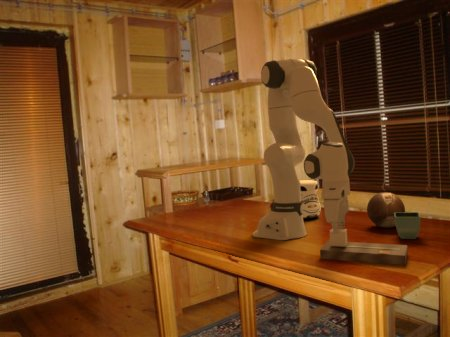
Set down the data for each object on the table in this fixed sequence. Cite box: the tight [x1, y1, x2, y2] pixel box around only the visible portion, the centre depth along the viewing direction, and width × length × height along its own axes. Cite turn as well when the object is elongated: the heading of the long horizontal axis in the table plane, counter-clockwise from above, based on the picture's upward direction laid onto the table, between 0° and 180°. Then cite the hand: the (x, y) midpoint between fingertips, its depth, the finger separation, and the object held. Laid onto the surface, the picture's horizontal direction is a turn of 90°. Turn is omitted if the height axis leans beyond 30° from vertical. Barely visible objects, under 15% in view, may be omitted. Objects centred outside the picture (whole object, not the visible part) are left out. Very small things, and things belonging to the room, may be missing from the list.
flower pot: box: [394, 211, 421, 240], centre depth 155 cm, size 9×9×9 cm
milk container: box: [298, 179, 322, 220], centre depth 203 cm, size 17×17×18 cm
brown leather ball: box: [366, 191, 406, 229], centre depth 173 cm, size 15×15×15 cm
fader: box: [329, 228, 348, 247], centre depth 139 cm, size 5×4×5 cm
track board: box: [319, 240, 409, 266], centre depth 136 cm, size 26×12×3 cm, turn 63°
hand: (339, 230), depth 138 cm, fingers open, 8 cm apart
